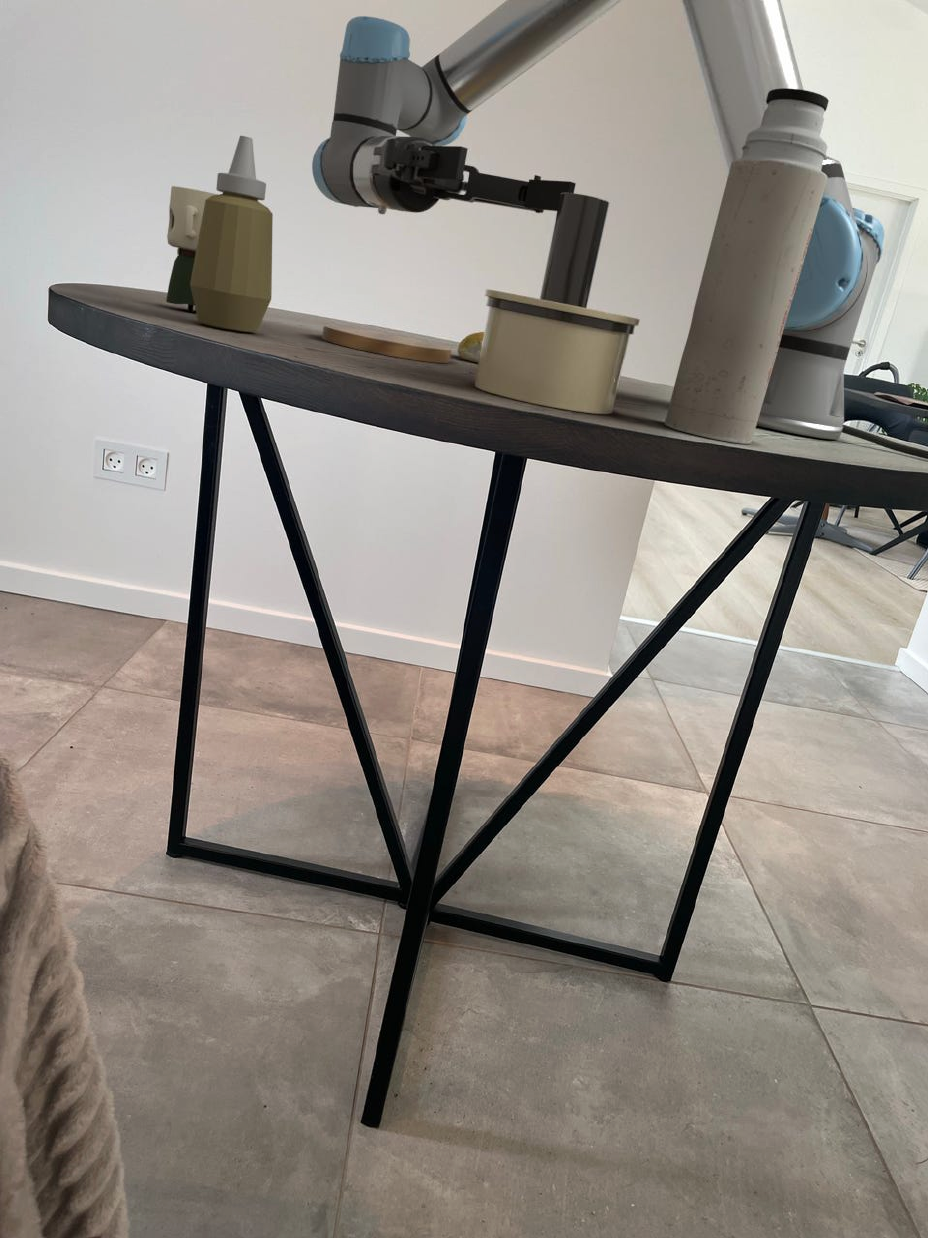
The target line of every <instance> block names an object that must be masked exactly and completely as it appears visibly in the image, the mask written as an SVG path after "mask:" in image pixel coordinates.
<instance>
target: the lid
mask: <svg viewBox="0 0 928 1238" xmlns="http://www.w3.org/2000/svg"><path fill="white" fill-rule="evenodd" d="M609 208H610V202H609V201H608V200H605V199H603V198H599V197H596V196H590V195H587V194H581V193H575V192H574V193H561V194H560V199H559V204H558V209H557V211H556V214H555V219H554V225H553V230H552V233H551V240H550V244H549V250H548V254H547V259H546V264H545V269H544V274H543V279H542V285H541V289H540V294H539V298H536V297H532V296H527V295H521V294H515V293H511V292H505V291H500V290H495V289H490V288H489V289H488V288H486V289H485V290H484V296H485V297H493V298H498V299H503V300H508V301H513V302H518V303H523V304H529V305H534V306H539V307H544V308H549V309H554V310H559V311H564V312H569V313H574V314H579V315H584V316H589V317H594V318H599V319H604V320H609V321H615V322H620V323H625V324H630V325H635V326H636V327H639V326H640V325H641V319H640V318H636V317H631V316H626V315H623V314H616V313H612V312H607V311H602V310H597V309H592V308H588V304H589V299H590V296H591V291H592V286H593V281H594V277H595V272H596V269H597V268H596V267H597V264H598V259H599V254H600V250H601V246H602V245H601V244H602V241H603V237H604V236H603V235H604V231H605V227H606V221H607V217H608V213H609Z"/></svg>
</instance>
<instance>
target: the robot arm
mask: <svg viewBox="0 0 928 1238" xmlns="http://www.w3.org/2000/svg"><path fill="white" fill-rule="evenodd" d="M623 1H624V0H505V1H504V2H503V3H502V4H500V5H499V6H497V7H496V8H495V9H494V10H493V11H491V12H490V13H489V14H487V15H486V16H485V17H484V18H482V19H481V20H480V21H479V22H478V23H476V24H475V25H474V26H472V27H471V28H470V29H469V30H467V31H466V32H465V33H464V34H463V35H461V36H460V37H458V38H457V39H456V40H455V41H454V42H452V43H451V44H450V45H448V47H446V48H445V49H444V50H442V51H441V52H440V53H438V54H437V55H435V56H434V57H432V59H430V60H429V61H428V62H426V63H425V64H423V65H422V66H420V65H419V64H417V63H415V62H414V61H412V60H410V59H409V58H410V56H411V52H410V46H411V45H410V44H411V38H410V34H409V32H408V30H406V28H405V27H403V26H401V25H400V24H398V23H395V22H394V21H393V22H392V21H390V20H387V19H384V18H379V17H375V16H366V15H363V16H355V17H352V18H351V19H350V20H349V21H348V22H347V23H346V26H345V33H344V38H343V44H342V48H341V51H340V54H339V58H340V59H339V60H340V61H339V65H338V67H339V68H338V75H337V83H336V84H337V85H336V91H335V102H334V109H333V116H332V122H331V128H330V135H329V138H327V139H325V140H323V141H322V142H321V143H320V144H319V146H318V147H317V149H316V150H315V152H314V154H313V157H312V161H311V162H312V164H311V170H312V171H311V172H312V176H313V179H314V183H315V185H316V187H317V189H318V190H319V192H320V193H321V194H322V195H323V196H324V197H325V198H327V199H328V200H330V201H332V202H334V203H337V204H342V205H347V206H350V207H355V208H360V207H361V208H371V209H377V213H378V214H380V215H386V213H387V210H391V211H399V212H405V213H413V214H414V213H416V214H417V213H424V212H427V211H428V210H430V209H432V208H433V207H434V206H435V205H436V204H437V203H438V202H439V200H441V201H450V200H455V201H460V202H467V203H480V204H481V203H482V204H489V205H493V206H501V207H507V208H513V209H519V210H525V211H531V212H535V213H536V214H543V213H544V212H545V211H552V212H557V209H558V204H559V199H560V194H561V193H575V190H576V185H577V183H576V182H573V181H570V180H567V181H566V180H550V179H549V180H548V179H547V180H546V179H542V176H540V175H538V174H534V177H533V179H531V178H530V179H529V180H528V181H526V180H520V179H515V178H510V177H504V176H499V175H495V174H494V175H493V174H489V173H482V172H480V171H479V169H478V168H477V167H476V166H474V165H469V164H466V160H467V155H468V148H467V147H464V146H462V145H461V146H459V145H449V144H452V143H453V142H455V141H456V140H457V139H458V138H459V137H460V135H461V134H462V131H463V130H464V128H465V126H466V124H467V118H468V115H469V114H470V113H471V112H473V111H474V110H475V109H477V108H478V107H479V106H481V105H482V104H484V103H485V102H486V101H487V100H489V99H490V98H492V97H493V96H494V95H496V94H497V93H499V92H500V91H501V90H502V89H504V88H505V87H507V86H508V85H509V84H511V83H512V82H514V81H515V80H516V79H517V78H519V77H520V76H522V75H523V74H524V73H525V72H527V71H529V70H530V69H532V67H535V65H536V64H538V63H539V62H541V61H543V59H545V58H546V57H547V56H549V55H550V54H552V53H553V52H554V51H556V50H557V49H559V48H560V47H561V46H563V45H564V44H565V43H567V42H568V41H570V40H571V39H572V38H573V37H575V36H576V35H578V34H579V33H580V32H581V31H583V30H584V29H586V28H587V27H588V26H590V25H591V24H592V23H594V22H596V21H597V20H598V19H600V18H601V17H602V16H604V15H605V14H606V13H608V12H609V11H610V10H612V9H614V8H615V7H616V6H617V5H619V4H620V3H621V2H623ZM679 3H680V7H681V11H682V14H683V18H684V22H685V25H686V28H687V33H688V36H689V40H690V43H691V48H692V51H693V56H694V59H695V62H696V66H697V70H698V73H699V77H700V81H701V85H702V88H703V92H704V96H705V99H706V100H705V101H706V104H707V107H708V111H709V114H710V118H711V121H712V125H713V130H714V133H715V138H716V141H717V144H718V149H719V152H720V156H721V159H722V162H723V167H724V171H725V175H726V178H728V174H729V171H730V167H731V163H732V162H733V161H734V160H737V159H741V157H742V154H743V150H742V147H743V146H744V145H745V142H746V139H747V135H748V134H749V133H750V132H752V131H754V130H756V129H758V128H759V127H760V126H761V122H762V119H763V115H764V112H765V110H766V109H767V107H768V104H767V103H766V99H767V95H768V92H769V91H771V90H774V89H781V88H791V89H800V90H804V86H803V81H802V77H801V75H800V70H799V66H798V63H797V58H796V55H795V51H794V48H793V43H792V40H791V39H792V38H791V35H790V31H789V28H788V25H787V20H786V17H785V12H784V9H783V5H782V1H781V0H679ZM397 131H400V132H401V133H403V134H405V135H407V136H400V135H399V136H398V135H397ZM826 156H827V158H826V160H824V161H823V165H822V169H821V171H822V172H823V173H825V174H826V175H827V177H828V178H827V182H826V186H825V189H824V193H823V196H822V200H821V203H820V206H819V210H818V213H817V217H816V220H815V224H814V227H813V231H812V234H811V238H810V241H809V244H808V248H807V251H806V255H805V258H804V262H803V265H802V269H801V272H800V276H799V279H798V283H797V286H796V289H795V293H794V296H793V299H792V302H791V305H790V308H789V312H788V315H787V318H786V322H785V325H784V329H783V333H782V336H781V340H780V344H779V348H778V352H777V355H776V359H775V362H774V366H773V369H772V372H771V376H770V379H769V383H768V386H767V390H766V393H765V397H764V400H763V404H762V407H761V411H760V414H759V417H758V421H757V424H756V427H761V428H765V429H771V430H773V431H779V432H785V433H788V434H794V435H799V436H806V437H811V438H818V439H825V440H834V441H835V440H840V438H841V434H842V433H843V434H846V435H849V436H852V437H854V438H858V439H861V440H863V441H867V442H870V443H872V444H874V445H878V446H880V447H884V448H886V449H889V450H893V451H894V452H899V453H902V454H906V455H909V456H913V457H917V458H922V459H924V460H928V450H926V449H922V448H918V447H913V446H910V445H906V444H902V443H899V442H896V441H893V440H891V439H887V438H885V437H882V436H880V435H877V434H874V433H871V432H868V431H864V430H861V429H858V428H855V427H853V426H849V425H846V424H844V423H845V379H844V378H845V373H844V371H845V367H846V363H847V360H848V356H849V353H850V351H851V347H852V344H853V341H854V337H855V335H856V331H857V328H858V325H859V321H860V318H861V315H862V312H863V309H864V305H865V302H866V299H867V296H868V292H869V289H870V286H871V283H872V279H873V276H874V273H875V270H876V267H877V264H878V263H879V262H880V260H881V258H882V255H883V243H884V240H885V229H884V225H883V224H882V223H881V221H880V220H879V219H877V218H876V217H875V216H873V215H872V214H868V213H865V211H863V210H861V209H858V208H855V207H853V205H852V201H851V197H850V194H849V190H848V185H847V183H846V179H845V174H844V171H843V167H842V163H841V161H840V160H837V159H835V158H833V157H830V156H828V155H826ZM464 172H466V173H468V177H467V181H465V173H464ZM462 192H465V193H464V194H462Z"/></svg>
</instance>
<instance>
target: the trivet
mask: <svg viewBox="0 0 928 1238" xmlns="http://www.w3.org/2000/svg"><path fill="white" fill-rule="evenodd" d="M321 339H322V340H323V341H326V342H328V343H332V344H335V345H338V346H342V347H346V348H351V349H353V350H359V351H364V352H368V353H373V354H378V355H382V356H388V357H394V358H400V359H405V360H412V361H417V362H418V361H419V362H427V363H437V364H448V363H450V360H451V354H452V348H451V347H448V346H446V345H442V344H438V343H434V342H431V341H427V340H422V339H417V338H413V337H407V336H403V335H399V334H395V333H389V332H382V331H377V330H372V329H365V328H360V327H353V326H347V325H339V324H323V327H322V335H321Z"/></svg>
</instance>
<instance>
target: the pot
mask: <svg viewBox="0 0 928 1238" xmlns="http://www.w3.org/2000/svg"><path fill="white" fill-rule="evenodd" d="M486 297H487V298H486V302H485V306H486V307H488V309H487V315H486V322H485V326H484V331H483V332H484V337H483V342H482V347H481V353H480V358H479V363H477V368H476V369H477V370H476V376H475V381H474V387H475V388H476V389H479V390H481V391H483V392H487V393H490V394H492V395H496V396H499V397H503V398H507V399H510V400H511V399H512V400H515V401H520V402H523V403H527V404H532V405H537V406H541V407H548V408H553V409H558V410H564V411H570V412H576V413H584V414H591V415H592V414H593V415H611V414H612V413H613V411H614V406H615V401H616V397H617V393H618V388H619V385H620V381H621V377H622V371H623V368H624V364H625V359H626V355H627V351H628V347H629V342H630V338H631V336H632V335H635V331H636V327H637V326H635V325H630V324H625V323H620V322H615V321H609V320H604V319H599V318H594V317H589V316H584V315H579V314H574V313H569V312H564V311H559V310H554V309H549V308H544V307H539V306H534V305H529V304H523V303H518V302H513V301H508V300H503V299H498V298H493V297H488V296H486Z"/></svg>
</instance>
